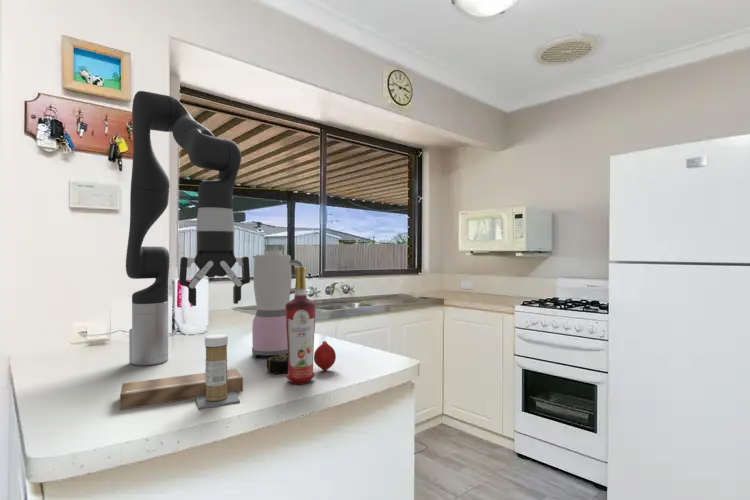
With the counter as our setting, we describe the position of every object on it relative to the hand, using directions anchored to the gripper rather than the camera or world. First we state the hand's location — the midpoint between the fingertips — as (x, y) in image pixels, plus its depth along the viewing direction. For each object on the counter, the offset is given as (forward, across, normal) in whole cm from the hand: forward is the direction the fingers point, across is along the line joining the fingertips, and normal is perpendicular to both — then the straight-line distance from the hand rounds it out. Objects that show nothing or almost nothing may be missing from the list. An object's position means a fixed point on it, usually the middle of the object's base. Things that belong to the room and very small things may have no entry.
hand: (215, 304), depth 91 cm
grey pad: (+20, 0, -2) cm, 20 cm away
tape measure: (+21, +19, +13) cm, 31 cm away
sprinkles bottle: (+20, 0, -2) cm, 20 cm away
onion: (+21, +28, +8) cm, 36 cm away
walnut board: (+20, -6, +6) cm, 22 cm away
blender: (+21, +22, +31) cm, 43 cm away
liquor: (+20, +20, +2) cm, 29 cm away
